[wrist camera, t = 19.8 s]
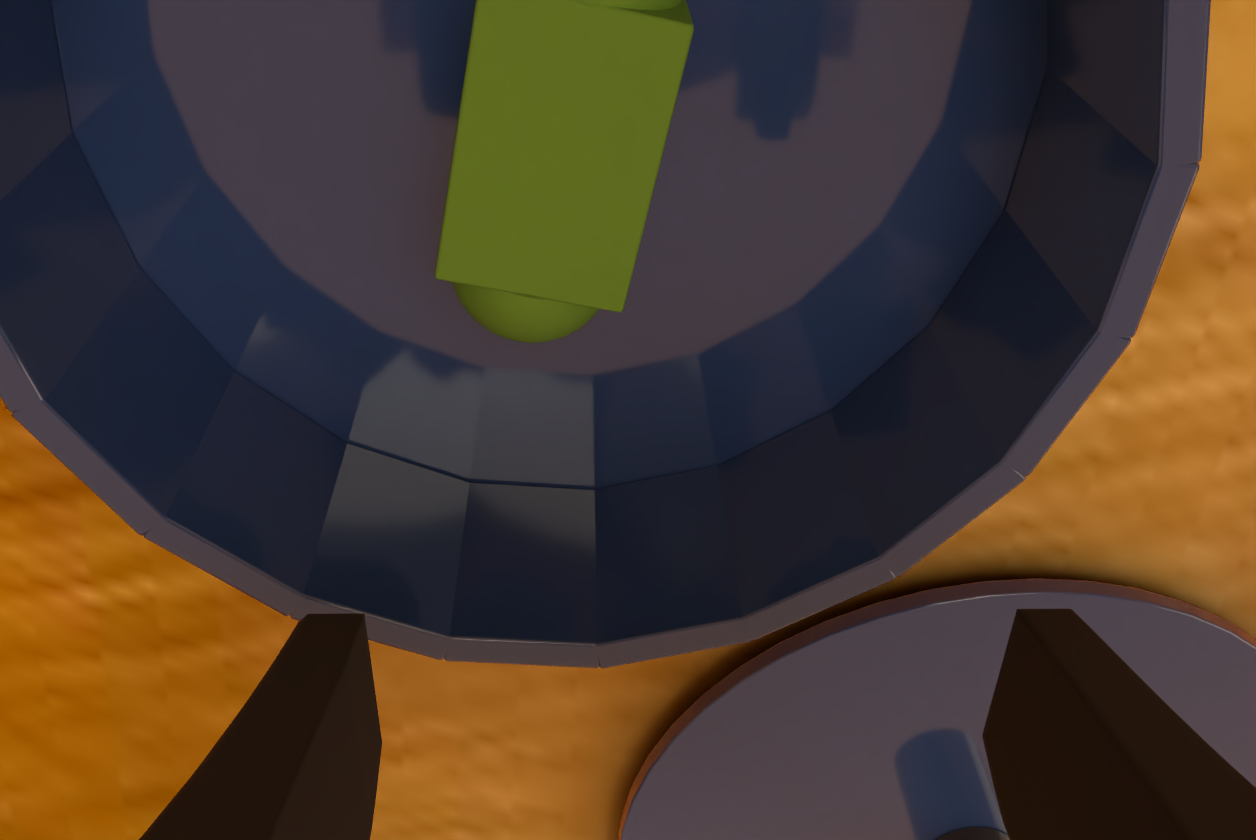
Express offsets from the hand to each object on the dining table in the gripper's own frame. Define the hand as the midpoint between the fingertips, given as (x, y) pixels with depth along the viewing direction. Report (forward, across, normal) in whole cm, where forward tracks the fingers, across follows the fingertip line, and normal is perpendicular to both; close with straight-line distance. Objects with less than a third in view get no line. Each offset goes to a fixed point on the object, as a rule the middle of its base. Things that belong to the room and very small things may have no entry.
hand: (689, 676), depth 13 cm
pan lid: (+10, -9, +16) cm, 21 cm away
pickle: (+10, +2, -3) cm, 11 cm away
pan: (+10, +2, -3) cm, 11 cm away
